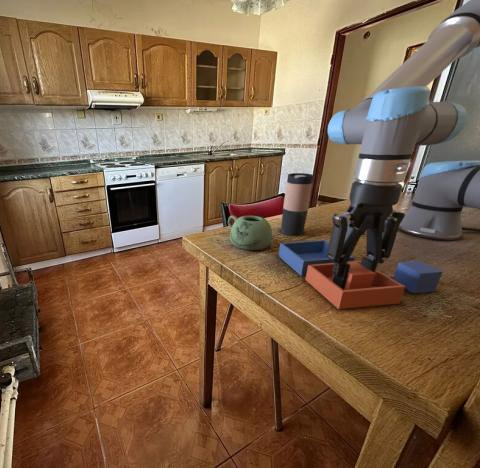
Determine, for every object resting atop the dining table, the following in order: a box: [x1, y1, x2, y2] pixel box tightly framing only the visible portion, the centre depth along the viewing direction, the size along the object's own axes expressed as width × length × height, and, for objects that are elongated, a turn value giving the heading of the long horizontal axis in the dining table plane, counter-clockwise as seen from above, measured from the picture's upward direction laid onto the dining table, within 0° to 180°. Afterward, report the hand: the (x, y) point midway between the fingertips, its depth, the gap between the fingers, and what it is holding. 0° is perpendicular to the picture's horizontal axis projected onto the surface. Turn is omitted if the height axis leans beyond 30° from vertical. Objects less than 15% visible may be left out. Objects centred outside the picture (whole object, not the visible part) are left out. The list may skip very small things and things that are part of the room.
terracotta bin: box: [305, 260, 406, 310], centre depth 56 cm, size 13×11×4 cm
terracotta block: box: [332, 262, 375, 290], centre depth 56 cm, size 5×5×5 cm
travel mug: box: [280, 172, 314, 237], centre depth 87 cm, size 8×8×20 cm
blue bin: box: [278, 239, 355, 277], centre depth 68 cm, size 13×11×4 cm
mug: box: [227, 215, 273, 251], centre depth 82 cm, size 16×13×9 cm
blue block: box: [392, 260, 443, 294], centre depth 57 cm, size 5×5×5 cm
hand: (349, 287), depth 57 cm, fingers closed on terracotta block, 5 cm apart
